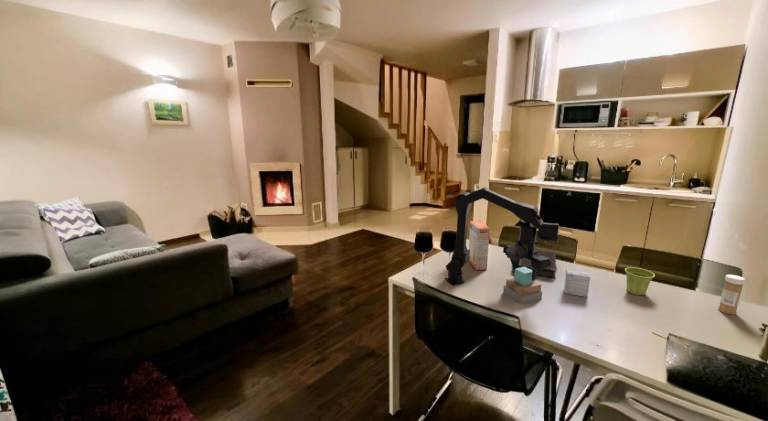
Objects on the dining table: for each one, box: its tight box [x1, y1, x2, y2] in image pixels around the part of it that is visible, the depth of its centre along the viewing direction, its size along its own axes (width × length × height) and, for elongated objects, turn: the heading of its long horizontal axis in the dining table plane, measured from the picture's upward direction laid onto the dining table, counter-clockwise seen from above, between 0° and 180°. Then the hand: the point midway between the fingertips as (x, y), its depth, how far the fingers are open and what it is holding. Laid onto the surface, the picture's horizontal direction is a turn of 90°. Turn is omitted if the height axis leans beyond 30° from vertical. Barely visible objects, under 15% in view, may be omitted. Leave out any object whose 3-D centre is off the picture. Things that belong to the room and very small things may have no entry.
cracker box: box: [468, 220, 490, 271], centre depth 156 cm, size 14×6×21 cm, turn 179°
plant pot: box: [624, 267, 656, 296], centre depth 127 cm, size 9×9×9 cm
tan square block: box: [505, 277, 542, 296], centre depth 126 cm, size 9×9×3 cm
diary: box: [512, 248, 558, 280], centre depth 155 cm, size 19×25×5 cm
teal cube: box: [513, 267, 534, 286], centre depth 125 cm, size 5×5×5 cm
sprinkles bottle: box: [717, 274, 746, 316], centre depth 112 cm, size 5×5×13 cm
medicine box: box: [563, 269, 591, 298], centre depth 127 cm, size 8×4×9 cm, turn 65°
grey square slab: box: [502, 284, 543, 305], centre depth 127 cm, size 10×10×4 cm
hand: (523, 276), depth 125 cm, fingers open, 9 cm apart
